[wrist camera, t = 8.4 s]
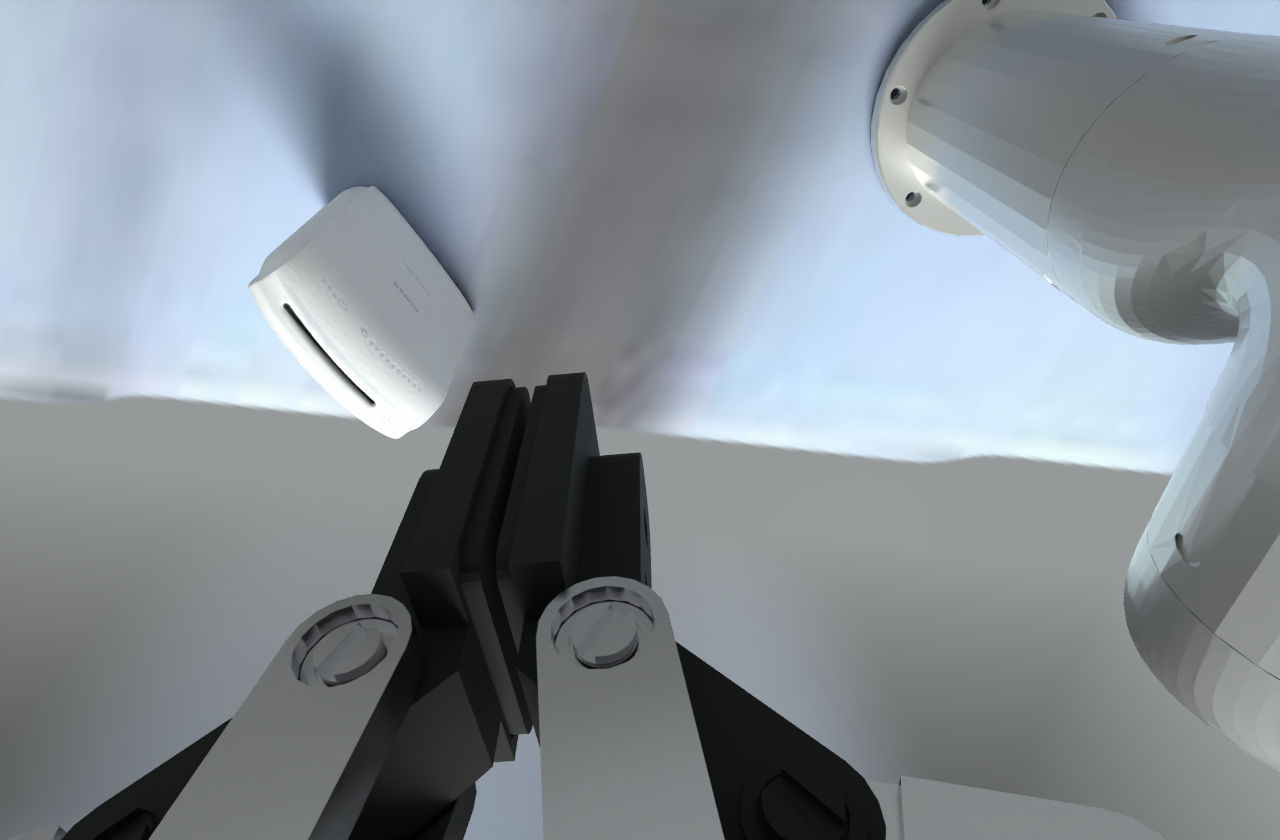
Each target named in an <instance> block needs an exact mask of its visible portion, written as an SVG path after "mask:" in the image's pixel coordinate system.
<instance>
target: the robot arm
mask: <svg viewBox="0 0 1280 840" xmlns="http://www.w3.org/2000/svg"><path fill="white" fill-rule="evenodd" d="M894 88H897V90H898V94H897V95H896V97H894V98H891V97H890V94H891V92H892V90H893V89H894ZM871 149H872V155H873V161H874V167H875V169H876V172H877V174H878V177H879V180H880V182H881V185H882V187H883V188H884V190H885V191H886V193H887V194H888V196H889V197H890V198H891V200H892V201H893V203H894V204H895V205H896V206H897V207H898V208H900V209H901V210H902V211H903V212H904V213H905V214H906V215H907V216H909V217H910V218H912V219H913V220H914V221H916V222H917V223H918V224H920V225H922V226H924V227H927V228H929V229H931V230H934V231H936V232H939V233H944V234H949V235H955V236H981V235H986V236H988V237H989V238H990V239H992V240H993V241H994V242H996V243H997V244H998V245H1000V246H1001V247H1002V248H1004V249H1005V250H1006V251H1008V252H1009V253H1010V254H1012V255H1013V256H1014V257H1016V258H1017V259H1018V260H1020V261H1021V262H1022V263H1024V264H1025V265H1026V266H1028V267H1029V268H1030V269H1032V270H1033V271H1034V272H1036V273H1037V274H1038V275H1040V276H1041V277H1042V278H1044V279H1045V280H1046V281H1048V282H1049V283H1050V284H1052V285H1053V286H1055V287H1056V288H1057V289H1058V290H1060V291H1061V292H1063V293H1064V294H1066V295H1067V296H1068V297H1070V298H1071V299H1073V300H1074V301H1076V302H1077V303H1078V304H1080V305H1081V306H1082V307H1084V308H1085V309H1086V310H1088V311H1089V312H1091V313H1092V314H1093V315H1095V316H1096V317H1098V318H1099V319H1101V320H1102V321H1104V322H1105V323H1107V324H1109V325H1111V326H1112V327H1114V328H1116V329H1118V330H1120V331H1123V332H1125V333H1128V334H1131V335H1133V336H1136V337H1139V338H1143V339H1147V340H1152V341H1157V342H1163V343H1171V344H1181V345H1201V344H1221V343H1231V342H1235V344H1234V347H1233V350H1232V352H1231V354H1230V357H1229V359H1228V361H1227V364H1226V366H1225V368H1224V370H1223V372H1222V374H1221V376H1220V378H1219V380H1218V382H1217V384H1216V386H1215V388H1214V390H1213V391H1212V393H1211V395H1210V398H1209V400H1208V403H1207V410H1206V412H1205V414H1204V416H1203V418H1202V420H1201V421H1200V423H1199V425H1198V427H1197V429H1196V431H1195V433H1194V435H1193V437H1192V439H1191V441H1190V443H1189V445H1188V447H1187V448H1186V450H1185V452H1184V454H1183V456H1182V458H1181V460H1180V462H1179V464H1178V466H1177V468H1176V470H1175V472H1174V474H1173V475H1172V477H1171V479H1170V481H1169V483H1168V485H1167V487H1166V489H1165V491H1164V493H1163V495H1162V497H1161V499H1160V501H1159V502H1158V505H1157V506H1156V508H1155V510H1154V512H1153V515H1152V517H1151V519H1150V521H1149V523H1148V525H1147V527H1146V529H1145V531H1144V533H1143V535H1142V537H1141V539H1140V541H1139V543H1138V545H1137V548H1136V550H1135V553H1134V555H1133V558H1132V560H1131V562H1130V566H1129V569H1128V573H1127V577H1126V581H1125V588H1124V602H1123V603H1124V611H1125V617H1126V623H1127V627H1128V630H1129V633H1130V636H1131V638H1132V640H1133V642H1134V645H1135V647H1136V649H1137V651H1138V653H1139V655H1140V656H1141V658H1142V659H1143V661H1144V662H1145V664H1146V665H1147V667H1148V668H1149V669H1150V671H1151V672H1152V673H1153V674H1154V676H1155V677H1156V678H1157V679H1158V681H1159V682H1160V683H1161V684H1162V685H1163V686H1164V687H1165V689H1166V690H1167V691H1168V692H1169V693H1170V694H1171V695H1172V696H1173V697H1175V698H1176V699H1177V700H1178V701H1179V702H1180V703H1181V704H1182V705H1183V706H1184V707H1185V708H1186V709H1188V710H1189V711H1190V712H1191V713H1192V714H1193V715H1195V716H1196V717H1197V718H1198V719H1199V720H1201V721H1202V722H1203V723H1205V724H1206V725H1207V726H1208V727H1210V728H1211V729H1213V730H1214V731H1216V732H1217V733H1218V734H1220V735H1221V736H1222V737H1224V738H1225V739H1227V740H1228V741H1230V742H1231V743H1232V744H1234V745H1235V746H1237V747H1238V748H1240V749H1242V750H1243V751H1245V752H1246V753H1248V754H1250V755H1251V756H1253V757H1255V758H1256V759H1258V760H1260V761H1261V762H1263V763H1265V764H1266V765H1268V766H1269V767H1271V768H1273V769H1275V770H1277V771H1279V772H1280V36H1275V35H1257V34H1248V33H1239V32H1230V31H1221V30H1212V29H1202V28H1193V27H1184V26H1175V25H1166V24H1157V23H1147V22H1138V21H1129V20H1120V19H1117V18H1116V15H1115V13H1114V12H1113V11H1112V9H1111V8H1110V7H1109V6H1108V4H1107V3H1106V2H1105V0H987V1H986V3H984V4H982V0H945V1H944V2H942V3H941V4H939V5H938V6H937V7H936V8H935V9H934V10H933V11H932V12H930V13H929V14H928V15H927V16H926V17H925V18H924V19H923V20H922V21H921V22H920V23H919V24H918V25H917V26H916V27H915V28H914V30H913V31H912V32H911V33H910V35H909V36H908V37H907V38H906V40H905V41H904V42H903V43H902V45H901V46H900V47H899V49H898V51H897V53H896V54H895V56H894V58H893V60H892V61H891V63H890V65H889V67H888V68H887V70H886V72H885V75H884V78H883V80H882V83H881V86H880V88H879V91H878V93H877V96H876V101H875V106H874V111H873V116H872V121H871ZM911 192H912V196H911V197H910V198H909V199H906V197H907V195H908V194H909V193H911ZM650 552H651V550H650V530H649V517H648V505H647V495H646V486H645V478H644V469H643V462H642V456H641V453H628V454H616V455H604V456H600V454H599V448H598V441H597V435H596V428H595V422H594V415H593V409H592V403H591V396H590V390H589V384H588V379H587V375H586V373H585V372H583V373H571V374H560V375H550V376H548V379H547V384H546V385H542V386H536V387H535V390H534V394H533V398H532V402H531V401H530V396H529V393H528V390H527V388H526V387H519V388H516V387H515V384H514V382H513V380H512V379H503V380H491V381H480V382H474V383H473V385H472V387H471V389H470V392H469V394H468V397H467V400H466V402H465V405H464V407H463V410H462V412H461V415H460V418H459V420H458V423H457V425H456V428H455V430H454V433H453V436H452V438H451V441H450V443H449V446H448V448H447V451H446V454H445V456H444V459H443V461H442V464H441V467H440V469H433V470H427V471H425V472H424V473H423V474H422V476H421V477H420V479H419V481H418V483H417V486H416V488H415V491H414V493H413V495H412V498H411V500H410V502H409V505H408V507H407V510H406V512H405V514H404V517H403V519H402V522H401V524H400V526H399V529H398V531H397V533H396V536H395V538H394V541H393V543H392V545H391V548H390V550H389V552H388V555H387V557H386V560H385V562H384V564H383V567H382V569H381V572H380V574H379V576H378V579H377V581H376V583H375V586H374V588H373V591H372V593H371V594H367V595H356V596H353V597H349V598H346V599H343V600H339V601H336V602H334V603H332V604H330V605H328V606H326V607H324V608H323V609H321V610H318V611H317V612H315V613H314V614H313V615H312V616H310V617H309V618H308V619H306V620H305V621H304V622H302V623H301V624H300V625H299V626H298V627H297V628H296V629H295V631H294V632H293V633H292V634H291V635H290V636H289V637H288V639H287V640H286V641H285V643H284V644H283V645H282V647H281V648H280V650H279V651H278V653H277V654H276V656H275V657H274V659H273V660H272V661H271V663H270V664H269V666H268V667H267V669H266V670H265V672H264V673H263V674H262V676H261V677H260V679H259V680H258V682H257V683H256V685H255V686H254V687H253V689H252V690H251V692H250V693H249V695H248V696H247V698H246V699H245V701H244V702H243V703H242V705H241V706H240V708H239V709H238V711H237V712H236V714H235V715H234V717H232V718H231V719H229V720H228V721H226V722H225V723H223V724H222V725H221V726H219V727H217V728H216V729H214V730H213V731H211V732H210V733H208V734H207V735H205V736H204V737H202V738H201V739H199V740H198V741H196V742H195V743H193V744H192V745H190V746H189V747H187V748H186V749H184V750H183V751H181V752H180V753H178V754H177V755H175V756H174V757H172V758H171V759H169V760H168V761H166V762H165V763H163V764H162V765H160V766H158V767H157V768H155V769H154V770H152V771H151V772H149V773H148V774H146V775H145V776H143V777H142V778H141V779H139V780H137V781H136V782H134V783H133V784H131V785H130V786H129V787H127V788H125V789H124V790H122V791H121V792H119V793H118V794H116V795H115V796H113V797H112V798H110V799H109V800H107V801H106V802H104V803H103V804H101V805H100V806H98V807H97V808H96V809H94V810H93V811H92V812H91V813H89V814H88V815H87V816H86V817H84V818H83V819H82V820H80V821H79V822H78V823H76V824H75V825H74V826H73V827H72V828H71V829H70V830H69V831H68V832H66V831H65V830H64V829H63V828H62V827H61V826H60V825H58V826H55V827H51V828H47V829H44V830H40V831H36V832H33V833H29V834H26V835H22V836H19V837H15V838H11V839H7V840H463V839H464V836H465V833H466V830H467V827H468V824H469V821H470V817H471V815H472V812H473V809H474V804H475V798H476V793H477V791H476V784H475V782H476V781H477V780H478V779H479V778H480V777H481V776H482V775H484V774H485V773H486V772H487V771H488V770H489V769H490V768H491V767H493V762H502V761H514V760H515V753H516V746H517V740H518V734H529V733H530V732H531V729H532V726H534V729H535V733H536V736H537V739H538V743H539V746H540V754H541V778H542V779H541V780H542V803H543V804H542V806H543V830H544V840H1167V839H1166V838H1164V837H1163V836H1161V835H1160V834H1158V833H1156V832H1155V831H1153V830H1152V829H1150V828H1149V827H1147V826H1145V825H1144V824H1142V823H1140V822H1139V821H1137V820H1136V819H1134V818H1131V817H1128V816H1125V815H1122V814H1118V813H1115V812H1112V811H1109V810H1106V809H1102V808H1095V807H1090V806H1083V805H1078V804H1071V803H1066V802H1059V801H1053V800H1047V799H1041V798H1035V797H1029V796H1023V795H1017V794H1011V793H1005V792H999V791H992V790H987V789H981V788H974V787H968V786H962V785H956V784H950V783H944V782H938V781H932V780H926V779H919V778H914V777H907V776H902V775H901V776H900V781H899V785H895V784H890V783H884V782H878V781H872V780H866V779H864V778H863V777H862V776H861V775H860V774H859V773H858V772H857V771H855V769H853V768H852V767H851V766H850V765H849V764H848V763H847V762H846V761H845V760H843V759H842V758H840V757H839V756H837V755H836V754H835V753H833V752H832V751H830V750H829V749H828V748H826V747H825V746H823V745H822V744H820V743H819V742H818V741H816V740H815V739H813V738H812V737H810V736H809V735H808V734H806V733H805V732H803V731H802V730H801V729H799V728H798V727H796V726H795V725H793V724H792V723H791V722H789V721H788V720H786V719H785V718H784V717H782V716H781V715H779V714H777V713H776V712H775V711H774V710H772V709H771V708H769V707H768V706H766V705H765V704H764V703H762V702H761V701H759V700H758V699H757V698H755V697H754V696H752V695H751V694H749V693H748V692H747V691H745V690H744V689H742V688H741V687H740V686H738V685H737V684H735V683H734V682H732V681H731V680H730V679H728V678H727V677H725V676H724V675H722V674H721V673H720V672H718V671H717V670H715V669H714V668H713V667H711V666H710V665H708V664H707V663H706V662H704V661H703V660H701V659H700V658H698V657H697V656H696V655H694V654H693V653H691V652H690V651H688V650H687V649H686V648H684V647H683V646H681V645H680V644H678V643H677V642H676V641H675V638H674V634H673V630H672V626H671V622H670V618H669V614H668V611H667V609H666V607H665V605H664V603H663V601H662V599H661V598H660V597H659V596H658V595H657V594H656V593H655V592H654V591H653V590H652V589H651V553H650Z"/></svg>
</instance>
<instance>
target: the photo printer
mask: <svg viewBox="0 0 1280 840" xmlns="http://www.w3.org/2000/svg"><path fill="white" fill-rule="evenodd" d="M248 288H249V290H250V292H251V294H252V296H253V298H254V300H255V302H256V304H257V305H258V307H259V309H260V311H261V312H262V314H263V316H264V317H265V319H266V320H267V322H268V323H269V325H270V326H271V327H272V329H273V330H274V331H275V333H276V334H277V336H278V337H279V338H280V340H281V341H282V342H283V343H284V345H285V346H286V347H287V348H288V350H289V351H290V352H291V353H292V354H293V356H294V357H295V358H296V360H297V361H298V362H299V364H301V365H302V366H303V367H304V368H305V369H306V370H307V371H308V373H309V375H310V376H311V377H313V378H315V379H316V380H317V381H318V382H319V384H320V385H321V386H322V387H323V388H324V389H325V390H326V391H327V392H328V393H329V394H330V395H331V396H333V397H334V398H335V399H336V400H337V401H338V402H339V403H340V404H341V405H343V406H344V407H345V408H346V409H347V410H349V411H350V412H351V413H352V414H353V415H355V416H356V417H357V418H359V419H360V420H362V421H363V422H364V423H366V424H367V425H369V426H371V427H372V428H374V429H375V430H377V431H379V432H380V433H382V434H384V435H386V436H389V437H391V438H400V437H401V436H403V435H404V434H405V433H407V432H408V431H410V430H413V429H416V428H418V427H419V426H421V425H422V424H423V423H424V422H425V421H426V420H428V419H429V418H430V417H431V415H432V414H433V413H434V412H435V411H436V410H437V409H438V408H439V407H440V405H441V404H442V402H443V401H444V399H445V397H446V395H447V392H448V390H449V387H450V385H451V382H452V380H453V377H454V375H455V372H456V370H457V367H458V364H459V362H460V359H461V357H462V354H463V351H464V349H465V347H466V344H467V342H468V339H469V336H470V334H471V331H472V328H473V325H474V322H475V317H474V314H473V312H472V310H471V308H470V306H469V304H468V303H467V301H466V299H465V298H464V296H463V295H462V293H461V292H460V291H459V289H458V288H457V286H456V285H455V284H454V282H453V281H452V279H451V278H450V277H449V275H448V274H447V273H446V271H445V270H444V268H443V267H442V266H441V265H440V263H439V262H438V261H437V259H436V258H435V257H434V255H433V254H432V253H431V251H430V250H429V249H428V248H427V246H426V245H425V243H424V242H423V241H422V240H421V238H420V237H419V236H418V235H417V234H416V232H415V231H414V230H413V229H412V227H411V226H410V225H409V224H408V222H407V221H406V220H405V219H404V217H403V216H402V215H401V214H400V212H399V211H398V210H397V209H396V208H395V206H394V205H393V204H392V203H391V202H390V201H389V200H388V198H387V197H386V196H385V195H384V194H383V193H382V192H381V191H379V190H378V189H377V188H376V187H375V186H370V187H369V188H368V187H362V186H360V187H352V188H349V189H347V190H345V191H343V192H341V193H340V194H339V195H338V196H336V197H335V198H334V199H333V200H332V201H330V202H329V203H328V204H327V205H326V206H325V207H323V208H322V209H321V210H320V211H319V212H318V213H317V214H315V215H314V216H313V217H312V218H311V219H310V220H308V221H307V222H306V223H305V224H304V225H303V226H302V227H300V228H299V229H298V230H297V231H296V232H295V233H294V234H292V235H291V236H290V237H289V238H288V239H287V240H286V241H284V242H283V243H282V244H281V245H280V246H279V247H277V248H276V249H275V250H274V251H273V252H272V253H271V254H270V255H269V256H268V257H267V258H266V260H265V261H264V263H263V265H262V267H261V270H260V273H259V275H258V276H257V277H256V278H254V279H253V280H252V281H251V282H250V284H249V285H248Z"/></svg>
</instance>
